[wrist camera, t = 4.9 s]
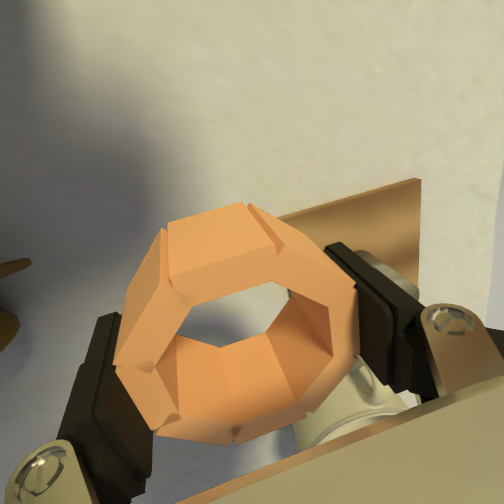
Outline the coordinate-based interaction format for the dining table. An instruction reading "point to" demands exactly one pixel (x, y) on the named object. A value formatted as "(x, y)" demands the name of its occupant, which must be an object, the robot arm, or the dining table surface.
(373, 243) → the post plate
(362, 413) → the teacup
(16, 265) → the kendama
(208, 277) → the ring
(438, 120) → the dining table surface
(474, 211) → the dining table surface
